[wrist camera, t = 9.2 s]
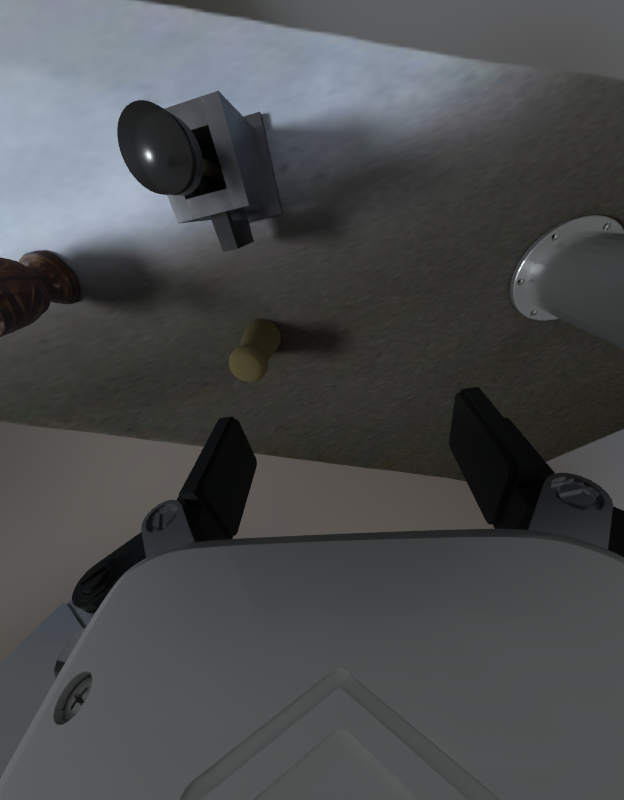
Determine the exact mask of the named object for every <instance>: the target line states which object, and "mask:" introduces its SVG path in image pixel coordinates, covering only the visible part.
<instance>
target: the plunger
mask: <svg viewBox="0 0 624 800" xmlns="http://www.w3.org/2000/svg"><path fill="white" fill-rule="evenodd" d="M118 143H119V147H120V151H121V154H122V157H123V159H124V161H125V163H126V165H127V167H128V169H129V170H130V172H131V173H132V175H133V176H134V177H135V178H136V179H137V181H139V182H140V183H141V184H142V185H143V186H144V187H146V188H147V189H149V190H150V191H152V192H155V193H158V194H163V195H176V196H184V195H188V194H190V193H192V192H193V191H194V190H195V189H196V188H197V187H198V185H199V184H200V181H201V178H202V175H204V176H207V177H211V178H212V179H213V181H214V183H215V184H216V186H217V187H218V188H219V189H221V190H223V189H227V186H226V183H225V179H224V176H223V173H222V169H221V166H220V163H219V159H218V156H217V157H216V158H215V159H214V160H213V162H212V161H210V160H207V159H205V158H202V153H201V149H200V146H199V144H198V142H197V139H196V137H195V136H194V134H193V132H192V131H191V130H190V128H189V127H188V126H187V125H186V124H185V123H184V122H183V121H182V120H181V119H179V118H178V117H176V116H175V115H173V114H171V113H170V112H168V111H166V110H165V109H163V108H161V107H160V106H158V105H156V104H154V103H152V102H149V101H144V100H138V101H134V102H132V103H130V104H129V105H127V106H126V107H125V109H124V110H123V111H122V113H121V115H120V118H119V122H118Z"/></svg>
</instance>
